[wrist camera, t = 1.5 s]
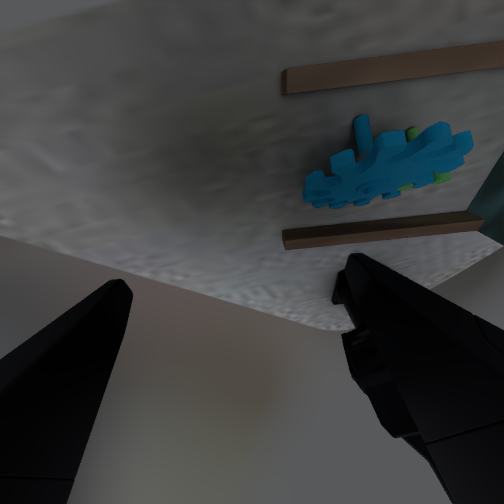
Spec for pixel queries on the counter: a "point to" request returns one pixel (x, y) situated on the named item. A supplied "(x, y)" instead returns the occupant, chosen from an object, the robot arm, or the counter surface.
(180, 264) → the counter surface
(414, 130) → the blue irregular piece
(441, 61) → the guide channel
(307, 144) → the counter surface
